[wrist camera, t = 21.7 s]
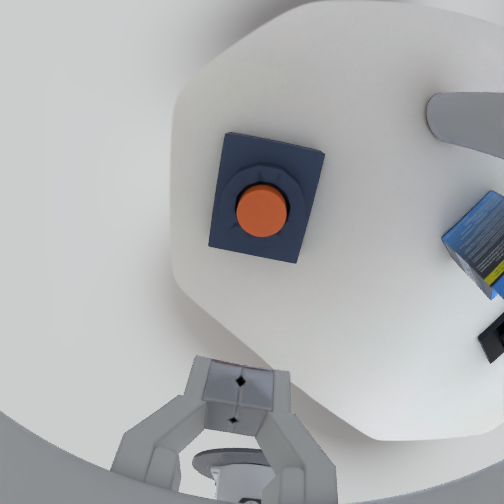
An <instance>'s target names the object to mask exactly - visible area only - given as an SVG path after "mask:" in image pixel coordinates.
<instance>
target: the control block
mask: <svg viewBox="0 0 504 504" xmlns="http://www.w3.org/2000/svg"><path fill="white" fill-rule="evenodd" d="M324 157H325V154H324V153H323V152H321V151H319V150H315V149H311V148H307V147H303V146H298V145H294V144H290V143H285V142H280V141H275V140H271V139H265V138H260V137H255V136H249V135H244V134H238V133H232V132H229V133H226V134H225V137H224V143H223V149H222V155H221V161H220V167H219V174H218V180H217V187H216V193H215V200H214V207H213V214H212V222H211V229H210V236H209V244H208V246H209V247H214V248H219V249H224V250H229V251H234V252H239V253H244V254H249V255H254V256H259V257H264V258H269V259H274V260H280V261H285V262H290V263H295V264H296V263H297V259H298V256H299V252H300V249H301V245H302V241H303V238H304V234H305V231H306V227H307V223H308V220H309V216H310V212H311V208H312V205H313V201H314V197H315V193H316V189H317V185H318V181H319V177H320V173H321V169H322V165H323V161H324ZM256 185H269V186H272V187H274V188H275V189H277V190H278V191H279V192H280V193H281V194H282V196H283V197H284V200H285V203H286V211H287V216H286V221H285V223H284V225H283V227H282V228H281V229H280V230H279V231H278V232H277V233H275V234H273V235H271V236H267V237H257V236H253V235H251V234H249V233H247V232H246V231H245V230H244V229H243V228H242V227H241V226H240V224H239V222H238V219H237V207H238V204H239V202H240V199H241V197H242V195H243V194H244V192H245V191H246V190H248V189H249V188H251V187H253V186H256Z"/></svg>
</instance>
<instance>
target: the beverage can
mask: <svg viewBox="0 0 504 504" xmlns="http://www.w3.org/2000/svg"><path fill="white" fill-rule="evenodd" d="M427 120H428V124H429V126H430V129H431V131H432V132H433V134H434V135H435V136H436V137H437V138H438V139H440V140H441V141H443V142H447V143H451V144H455V145H459V146H463V147H466V148H470V149H473V150H477V151H480V152H483V153H486V154H490V155H493V156H496V157H499V158H502V159H504V93H491V92H458V93H439V94H436V95H434V96H433V97H432V98H431V99H430V101H429V103H428V105H427Z"/></svg>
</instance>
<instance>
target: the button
mask: <svg viewBox="0 0 504 504" xmlns="http://www.w3.org/2000/svg"><path fill="white" fill-rule="evenodd" d="M286 216H287V211H286V203H285V200H284V197H283V196H282V194H281V193H280V192H279V191H278V190H277V189H275V188H274V187H272V186H269V185H256V186H253V187H251V188H249V189H248V190H246V191H245V192H244V194H243V195H242V197H241V199H240V202H239V204H238V207H237V219H238V222H239V224H240V226H241V227H242V228H243V229H244V230H245V231H246V232H247V233H249V234H251V235H253V236H257V237H267V236H271V235H273V234H275V233H277V232H278V231H279V230H280V229H281V228H282V227H283V225H284V223H285V221H286Z"/></svg>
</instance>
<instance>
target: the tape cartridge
mask: <svg viewBox="0 0 504 504" xmlns="http://www.w3.org/2000/svg"><path fill="white" fill-rule="evenodd" d="M442 241H443V243H444V244H445V246H446V248H447V250H448V251H449V253H450V255H451V257H452V258H453V260H454V261H455V262H456V263H457V264H458V265H459V266H460V267H461V268H462V269H463V271H464V272H465V273H466V274H467V275H468V276H469V277H470V278H471V279H472V280H473V281H474V282H475V283H476V285H477V286H478V287H479V288H480V289H481V290H482V291H483V292H484V293H485V294H486V296H487V297H488V298H489V299H490V300H492V299H493V298H494V297H495V296H496V295H497V294H499V295H500V296H501V297H502V298H503V299H504V196H502V195H500V194H498V193H496V192H494V191H490V192H489V193H488V194H487V195H486V196H485V197H484V198H483V199H482V200H481V201H480V202H479V203H478V204H477V205H476V206H475V207H474V208H473V209H472V210H471V211H470V212H469V213H468V214H467V215H466V216H465V217H464V218H463V219H462V220H461V221H460V222H459V223H458V224H457V225H456V226H455V227H453V228H452V229H451V230H450V231H449V232H448V233H447V234H446V235H445V236H444V237H442Z"/></svg>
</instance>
